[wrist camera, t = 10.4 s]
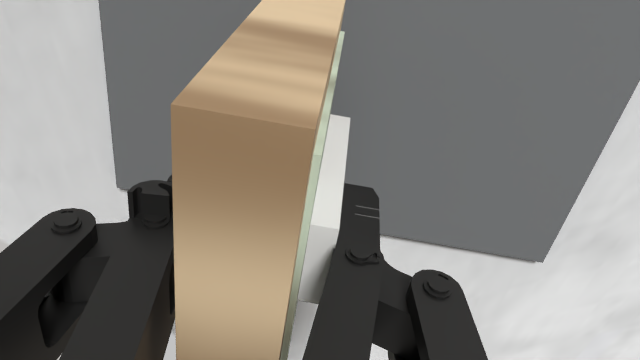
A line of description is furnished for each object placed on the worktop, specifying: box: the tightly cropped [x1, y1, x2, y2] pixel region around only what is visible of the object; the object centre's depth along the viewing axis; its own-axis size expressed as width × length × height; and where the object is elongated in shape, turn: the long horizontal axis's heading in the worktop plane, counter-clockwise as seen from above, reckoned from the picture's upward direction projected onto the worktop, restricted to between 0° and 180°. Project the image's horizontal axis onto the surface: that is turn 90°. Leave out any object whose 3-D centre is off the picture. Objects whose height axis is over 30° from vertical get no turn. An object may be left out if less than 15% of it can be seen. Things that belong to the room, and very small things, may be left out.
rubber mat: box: [99, 0, 640, 263], centre depth 19 cm, size 20×12×1 cm, turn 82°
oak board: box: [171, 0, 346, 360], centre depth 14 cm, size 11×2×10 cm, turn 171°
